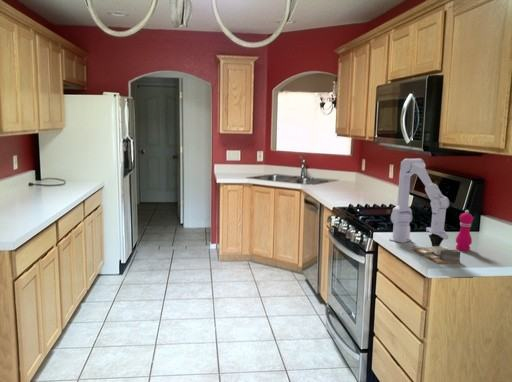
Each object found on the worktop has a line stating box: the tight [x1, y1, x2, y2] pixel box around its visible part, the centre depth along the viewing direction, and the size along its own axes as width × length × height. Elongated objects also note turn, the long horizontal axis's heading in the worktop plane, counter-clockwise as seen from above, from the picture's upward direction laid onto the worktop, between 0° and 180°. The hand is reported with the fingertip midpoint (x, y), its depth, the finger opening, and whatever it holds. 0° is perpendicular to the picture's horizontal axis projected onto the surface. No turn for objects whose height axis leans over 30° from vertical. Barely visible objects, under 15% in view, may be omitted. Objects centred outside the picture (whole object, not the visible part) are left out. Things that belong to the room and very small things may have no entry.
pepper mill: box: [455, 209, 474, 252], centre depth 220 cm, size 7×7×20 cm
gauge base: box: [411, 246, 461, 264], centre depth 209 cm, size 21×12×5 cm, turn 12°
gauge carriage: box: [426, 245, 449, 255], centre depth 208 cm, size 4×10×3 cm, turn 102°
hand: (435, 249), depth 212 cm, fingers closed
